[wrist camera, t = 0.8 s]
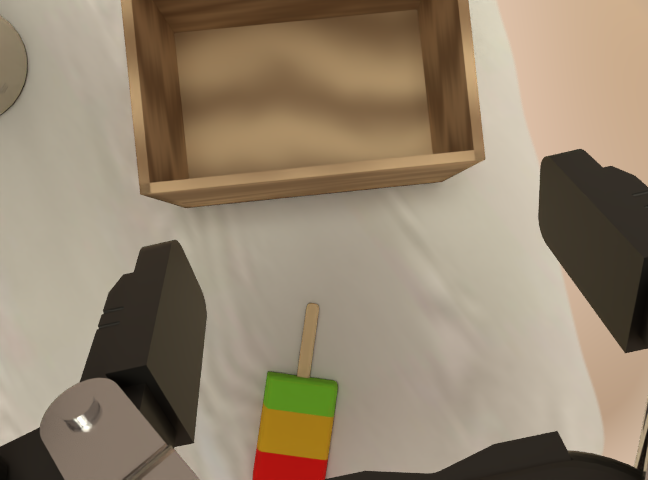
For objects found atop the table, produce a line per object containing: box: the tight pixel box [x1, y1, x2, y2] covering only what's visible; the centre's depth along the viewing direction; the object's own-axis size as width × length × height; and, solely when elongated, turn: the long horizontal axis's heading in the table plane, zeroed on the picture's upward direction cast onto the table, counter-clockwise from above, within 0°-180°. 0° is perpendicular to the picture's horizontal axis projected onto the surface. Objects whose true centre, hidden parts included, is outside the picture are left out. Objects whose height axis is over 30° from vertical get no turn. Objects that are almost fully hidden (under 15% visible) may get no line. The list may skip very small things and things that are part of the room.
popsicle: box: [253, 303, 338, 480], centre depth 42 cm, size 6×15×2 cm, turn 172°
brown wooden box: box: [121, 0, 485, 208], centre depth 37 cm, size 14×20×11 cm
